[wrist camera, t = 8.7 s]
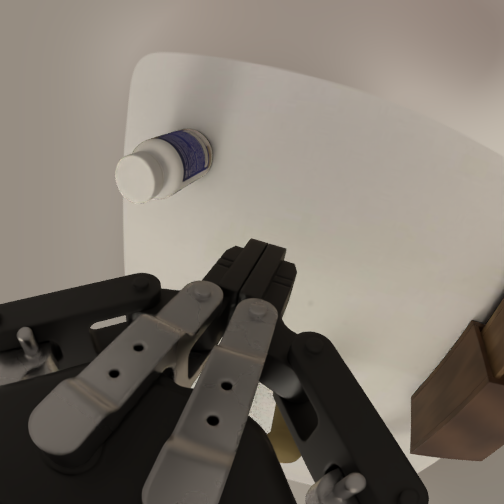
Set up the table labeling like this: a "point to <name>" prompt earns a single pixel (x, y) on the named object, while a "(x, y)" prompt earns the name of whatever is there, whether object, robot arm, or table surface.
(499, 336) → the drawer
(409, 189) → the table surface
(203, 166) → the pill bottle
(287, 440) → the olive brown pawn
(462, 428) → the cabinet
